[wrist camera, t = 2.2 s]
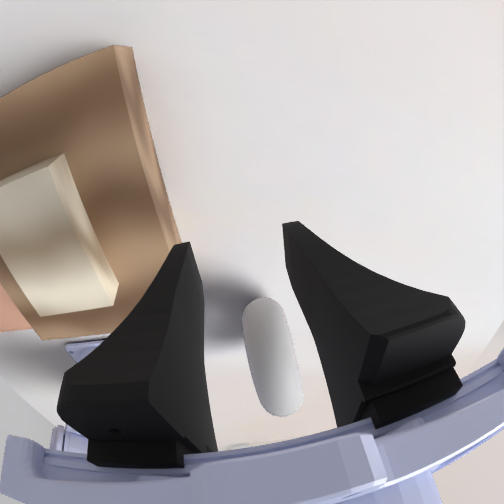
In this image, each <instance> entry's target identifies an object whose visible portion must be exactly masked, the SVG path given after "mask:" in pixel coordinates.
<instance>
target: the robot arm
mask: <svg viewBox="0 0 504 504" xmlns="http://www.w3.org/2000/svg"><path fill="white" fill-rule="evenodd" d="M282 227H283V238H284V250H285V262H286V269H287V272H288V275H289V279H290V282H291V286H292V288H293V291H294V293H295V295H296V298H297V300H298V302H299V305H300V307H301V309H302V312H303V314H304V316H305V319H306V321H307V323H308V325H309V328H310V330H311V332H312V335H313V338H314V341H315V344H316V347H317V350H318V354H319V357H320V360H321V364H322V368H323V371H324V375H325V378H326V382H327V386H328V390H329V394H330V398H331V402H332V406H333V410H334V415H335V419H336V424H337V428H335V429H331V430H328V431H324V432H320V433H317V434H313V435H309V436H305V437H300V438H296V439H292V440H287V441H282V442H278V443H272V444H267V445H262V446H255V447H249V448H243V449H236V450H228V451H220V452H218V449H217V444H216V439H215V434H214V428H213V423H212V417H211V411H210V405H209V398H208V390H207V383H206V375H205V366H204V296H203V287H202V281H201V277H200V274H199V271H198V268H197V264H196V261H195V258H194V255H193V251H192V248H191V245H190V242H185V243H180V244H175V245H174V246H173V247H172V249H171V250H170V252H169V254H168V256H167V257H166V259H165V261H164V263H163V264H162V266H161V268H160V270H159V271H158V273H157V275H156V276H155V278H154V280H153V281H152V283H151V284H150V286H149V287H148V289H147V290H146V292H145V293H144V295H143V296H142V298H141V299H140V301H139V302H138V303H137V305H136V306H135V307H134V308H133V310H132V311H131V312H130V313H129V315H128V316H127V317H126V318H125V319H124V320H123V321H122V323H121V324H120V325H119V326H118V327H117V328H116V329H115V330H114V331H113V332H112V333H111V334H110V335H109V336H108V337H107V338H106V339H105V340H101V341H92V342H83V343H73V344H66V346H65V349H66V351H67V352H68V353H69V354H70V355H71V356H72V358H73V359H74V360H75V361H76V362H77V364H75V365H74V366H73V367H72V368H70V369H69V370H67V371H66V372H65V373H64V377H63V381H62V385H61V390H60V394H59V399H58V404H57V413H58V415H59V416H60V418H61V419H62V420H63V421H64V422H65V423H66V426H65V430H64V426H62V425H58V426H57V427H55V428H53V430H52V436H51V443H50V449H45V448H44V447H43V446H41V445H40V444H38V443H37V442H35V441H33V440H30V439H27V438H22V437H18V436H13V435H8V436H7V440H6V446H5V452H4V459H3V465H2V473H1V482H0V492H1V494H4V495H6V496H8V497H10V498H13V499H15V500H18V501H20V502H23V503H25V504H442V501H441V498H440V495H439V492H438V490H437V487H436V484H435V481H434V479H433V476H432V473H434V472H436V471H438V470H439V469H441V468H443V467H445V466H447V465H449V464H450V463H452V462H454V461H455V460H457V459H459V458H461V457H462V456H464V455H466V454H467V453H469V452H470V451H472V450H474V449H475V448H476V447H478V446H480V445H481V444H483V443H484V442H486V441H487V440H489V439H490V438H491V437H493V436H494V435H495V434H497V433H499V432H500V431H501V430H503V429H504V349H503V350H502V351H501V352H500V354H499V355H498V358H497V359H495V360H494V361H492V362H490V363H489V364H487V365H485V366H483V367H482V368H480V369H478V370H476V371H474V372H473V373H471V374H469V375H467V376H465V377H463V378H461V379H459V377H458V375H457V373H456V371H455V370H454V368H453V367H454V366H455V365H456V361H455V359H454V358H453V356H452V352H453V351H454V349H455V347H456V345H457V344H458V342H459V340H460V338H461V337H462V334H463V332H464V329H465V319H464V317H463V316H462V314H461V313H460V311H459V310H458V309H457V307H456V306H455V305H454V303H453V302H452V301H451V299H450V298H449V297H447V296H443V295H439V294H435V293H431V292H426V291H423V290H419V289H416V288H413V287H410V286H407V285H404V284H402V283H399V282H396V281H394V280H391V279H389V278H387V277H384V276H382V275H380V274H378V273H375V272H373V271H371V270H369V269H368V268H366V267H364V266H362V265H360V264H358V263H356V262H355V261H353V260H351V259H350V258H348V257H346V256H345V255H343V254H342V253H340V252H339V251H337V250H336V249H334V248H333V247H331V246H330V245H329V244H327V243H326V242H324V241H323V240H322V239H321V238H319V237H318V236H317V235H315V234H314V233H313V232H312V231H310V230H309V229H308V228H307V227H305V226H304V225H303V224H301V223H300V222H299V221H295V222H289V223H284V224H282Z"/></svg>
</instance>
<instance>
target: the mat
mask: <svg viewBox="0 0 504 504" xmlns="http://www.w3.org/2000/svg"><path fill="white" fill-rule="evenodd" d="M25 329H33V328H32V327H31V326H30V324H29V323H28V322H27V320H26V319H25V318H24V316H23V315H22V314H21V312H20V311H19V310H18V308H17V307H16V305H15V304H14V303H13V301H12V300H11V298H10V297H9V295H8V294H7V292H6V291H5V289H4V288H3V286H2V285H1V283H0V332H5V331H15V330H25Z"/></svg>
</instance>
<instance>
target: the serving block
mask: <svg viewBox="0 0 504 504" xmlns="http://www.w3.org/2000/svg"><path fill="white" fill-rule="evenodd" d="M62 153H64V154H65V157H66V160H67V163H68V166H69V169H70V171H71V174H72V177H73V180H74V182H75V185H76V188H77V190H78V193H79V196H80V198H81V201H82V203H83V206H84V208H85V211H86V213H87V215H88V218H89V220H90V223H91V225H92V227H93V230H94V232H95V234H96V236H97V239H98V241H99V243H100V245H101V247H102V250H103V252H104V254H105V256H106V258H107V260H108V262H109V264H110V266H111V269H112V271H113V273H114V275H115V277H116V279H117V281H118V283H119V285H118V289H117V293H116V297H115V301H114V305H113V306H108V307H102V308H96V309H89V310H83V311H76V312H70V313H63V314H56V315H49V316H42V317H40V315H39V314H38V313H37V311H36V310H35V308H34V307H33V306H32V304H31V303H30V301H29V300H28V298H27V297H26V295H25V294H24V292H23V291H22V289H21V288H20V286H19V285H18V283H17V282H16V280H15V278H14V277H13V275H12V274H11V272H10V270H9V269H8V267H7V265H6V264H5V262H4V260H3V258H2V257H1V255H0V283H1V285H2V286H3V288H4V289H5V291H6V292H7V294H8V295H9V297H10V298H11V300H12V301H13V303H14V304H15V305H16V307H17V308H18V310H19V311H20V312H21V314H22V315H23V316H24V318H25V319H26V320H27V322H28V323H29V324H30V326H31V327H32V328H33V329H34V331H35V332H36V333H37V334H38V336H39V337H40V338H41V339H42V340H51V339H62V338H71V337H81V336H89V335H98V334H106V333H112V332H113V331H114V330H115V329H116V328H117V327H118V326H119V325H120V324H121V323H122V321H123V320H124V319H125V318H126V317H127V316H128V315H129V313H130V312H131V311H132V310H133V308H134V307H135V306H136V305H137V303H138V302H139V301H140V299H141V298H142V296H143V295H144V293H145V292H146V290H147V289H148V287H149V286H150V284H151V283H152V281H153V280H154V278H155V276H156V275H157V273H158V271H159V270H160V268H161V266H162V264H163V263H164V261H165V259H166V257H167V256H168V254H169V252H170V250H171V249H172V247H173V246H174V245H175V244H180V243H182V242H181V239H180V236H179V233H178V229H177V226H176V223H175V219H174V216H173V213H172V209H171V206H170V202H169V199H168V195H167V192H166V188H165V185H164V181H163V178H162V174H161V170H160V167H159V163H158V159H157V155H156V151H155V148H154V144H153V140H152V136H151V132H150V128H149V123H148V119H147V115H146V111H145V107H144V102H143V98H142V93H141V89H140V84H139V80H138V75H137V70H136V65H135V60H134V55H133V50H132V47H125V46H116V45H112V46H110V47H107V48H104V49H101V50H98V51H96V52H93V53H91V54H88V55H85V56H83V57H80V58H78V59H76V60H73V61H71V62H69V63H66V64H64V65H62V66H60V67H58V68H55V69H53V70H51V71H49V72H47V73H45V74H43V75H41V76H39V77H37V78H35V79H33V80H31V81H29V82H28V83H26V84H24V85H22V86H20V87H18V88H17V89H15V90H13V91H11V92H10V93H8V94H6V95H5V96H3V97H1V98H0V180H2V179H4V178H6V177H8V176H10V175H12V174H15V173H17V172H19V171H21V170H23V169H26V168H28V167H30V166H32V165H35V164H37V163H40V162H42V161H44V160H47V159H49V158H52V157H54V156H57V155H59V154H62Z"/></svg>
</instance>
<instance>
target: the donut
mask: <svg viewBox="0 0 504 504" xmlns="http://www.w3.org/2000/svg"><path fill="white" fill-rule="evenodd" d="M242 326H243V335H244V342H245V348H246V353H247V358H248V363H249V367H250V371H251V375H252V379H253V382H254V386H255V389H256V392H257V395H258V397H259V400H260V402H261V404H262V406H263V407H264V408H265V410H266V411H267V412H269V413H270V414H272V415H274V416H279V417H283V416H288V415H291V414H293V413H294V412H296V411H297V410H298V409H299V408H300V406H301V404H302V402H303V398H304V397H303V386H302V380H301V375H300V371H299V366H298V362H297V357H296V353H295V349H294V345H293V341H292V337H291V333H290V329H289V326H288V322H287V319H286V316H285V313H284V311H283V308H282V307H281V306H280V304H279V303H278V302H276V301H275V300H273V299H270V298H266V297H264V298H258V299H255V300H253V301H251V302H250V303H249V304H248V305H247V306H246V308H245V309H244V312H243V316H242Z"/></svg>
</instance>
